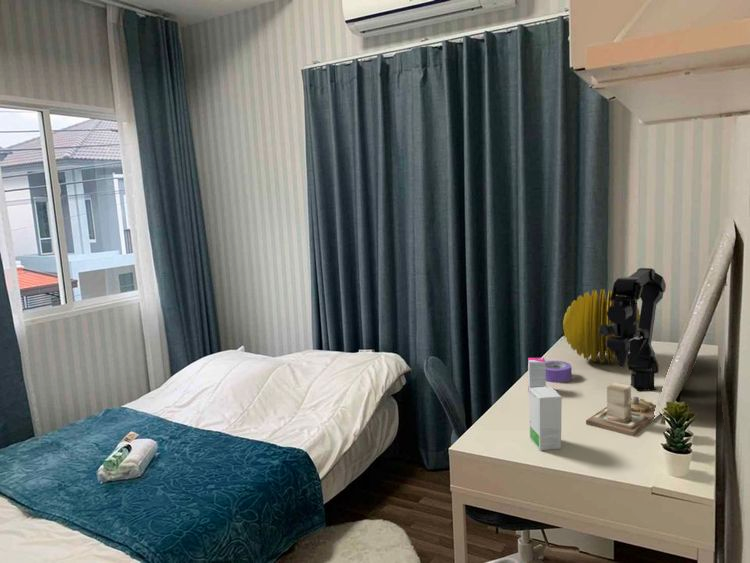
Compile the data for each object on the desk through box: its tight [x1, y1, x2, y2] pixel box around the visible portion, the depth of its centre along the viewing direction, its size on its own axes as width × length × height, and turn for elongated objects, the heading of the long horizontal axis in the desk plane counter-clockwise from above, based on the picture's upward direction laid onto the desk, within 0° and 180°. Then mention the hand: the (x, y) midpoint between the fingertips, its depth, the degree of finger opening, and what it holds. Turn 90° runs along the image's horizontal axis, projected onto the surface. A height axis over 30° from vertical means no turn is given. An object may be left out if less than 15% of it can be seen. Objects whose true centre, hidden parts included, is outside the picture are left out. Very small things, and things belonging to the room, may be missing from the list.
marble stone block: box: [606, 382, 632, 423], centre depth 168 cm, size 7×7×10 cm
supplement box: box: [527, 357, 547, 394], centre depth 200 cm, size 6×6×12 cm
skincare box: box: [528, 385, 563, 452], centre depth 157 cm, size 8×7×16 cm
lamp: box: [562, 288, 640, 365], centre depth 224 cm, size 30×30×30 cm
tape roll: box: [545, 360, 573, 383], centre depth 212 cm, size 12×12×5 cm
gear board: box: [585, 396, 657, 437], centre depth 172 cm, size 24×14×4 cm, turn 133°
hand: (627, 363), depth 182 cm, fingers open, 9 cm apart
